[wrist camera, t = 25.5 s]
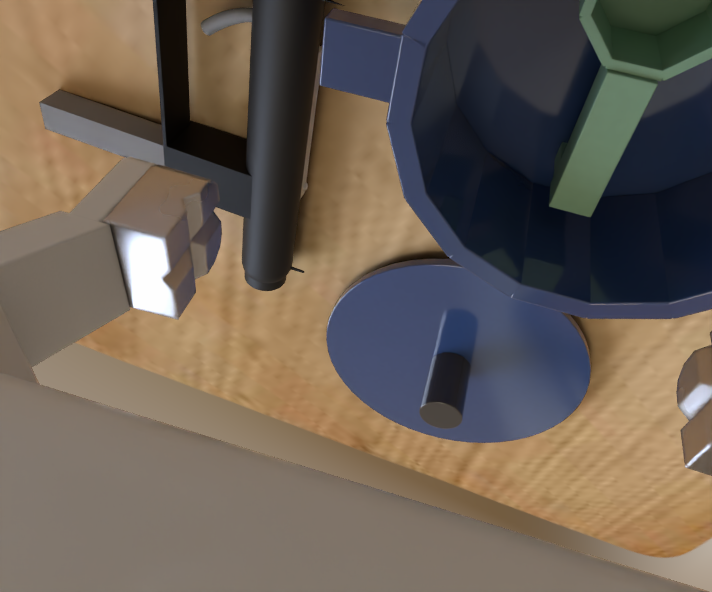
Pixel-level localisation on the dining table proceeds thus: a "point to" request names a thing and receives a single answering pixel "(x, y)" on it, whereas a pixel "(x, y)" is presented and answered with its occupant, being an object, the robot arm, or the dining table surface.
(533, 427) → the lid
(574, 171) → the scoop
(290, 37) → the door handle
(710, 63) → the pot
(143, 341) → the dining table surface
